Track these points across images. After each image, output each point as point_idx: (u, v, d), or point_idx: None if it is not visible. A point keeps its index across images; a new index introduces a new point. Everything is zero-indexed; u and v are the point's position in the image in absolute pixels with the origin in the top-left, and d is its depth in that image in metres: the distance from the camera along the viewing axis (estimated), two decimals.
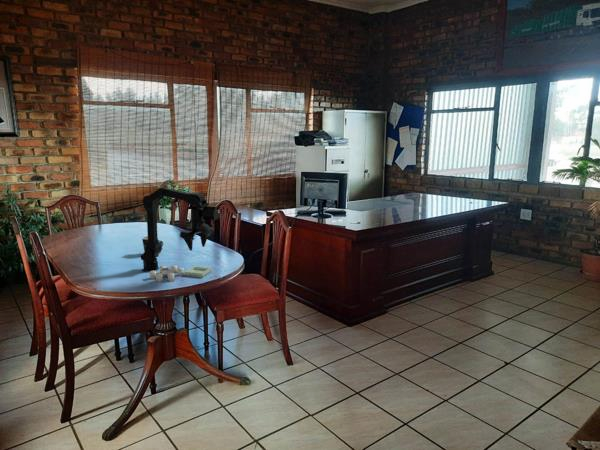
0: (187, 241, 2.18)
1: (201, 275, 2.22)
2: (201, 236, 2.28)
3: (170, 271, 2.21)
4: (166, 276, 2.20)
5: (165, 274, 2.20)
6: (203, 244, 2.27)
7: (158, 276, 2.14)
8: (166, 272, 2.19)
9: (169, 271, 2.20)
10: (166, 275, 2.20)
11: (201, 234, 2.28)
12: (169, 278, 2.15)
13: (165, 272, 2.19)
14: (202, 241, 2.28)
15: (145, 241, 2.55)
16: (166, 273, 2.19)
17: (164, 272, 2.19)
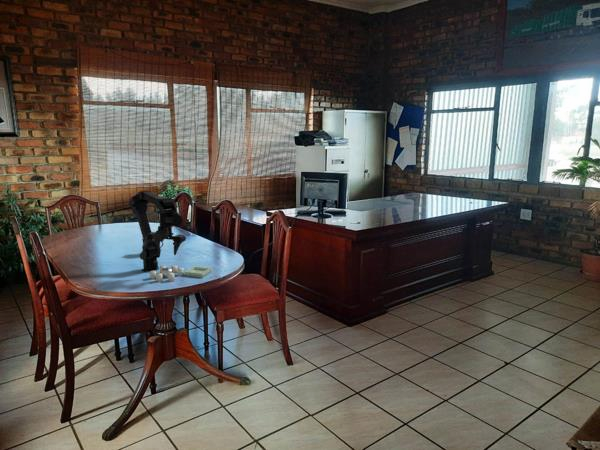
0: None
1: (201, 275, 2.22)
2: None
3: (170, 271, 2.21)
4: (166, 276, 2.20)
5: (165, 274, 2.20)
6: None
7: (158, 276, 2.14)
8: (166, 272, 2.19)
9: (169, 271, 2.20)
10: (166, 275, 2.20)
11: None
12: (169, 278, 2.15)
13: (165, 272, 2.19)
14: None
15: None
16: (166, 273, 2.20)
17: (164, 272, 2.19)
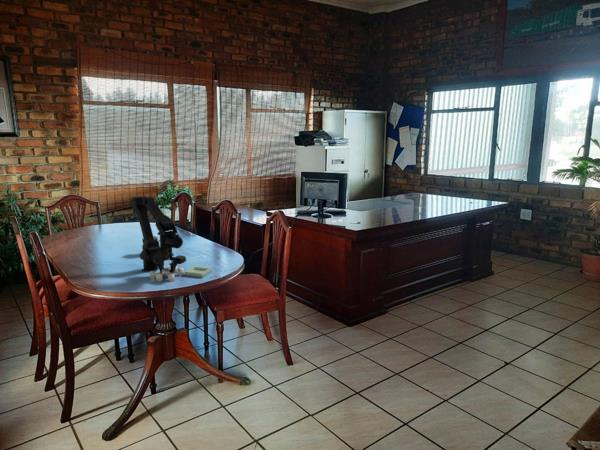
0: None
1: (201, 275, 2.22)
2: None
3: (170, 271, 2.21)
4: (166, 276, 2.20)
5: (165, 274, 2.20)
6: None
7: (158, 276, 2.14)
8: (166, 272, 2.19)
9: (169, 271, 2.20)
10: (166, 274, 2.20)
11: None
12: (169, 278, 2.15)
13: (165, 272, 2.19)
14: None
15: None
16: (166, 273, 2.19)
17: (164, 272, 2.19)
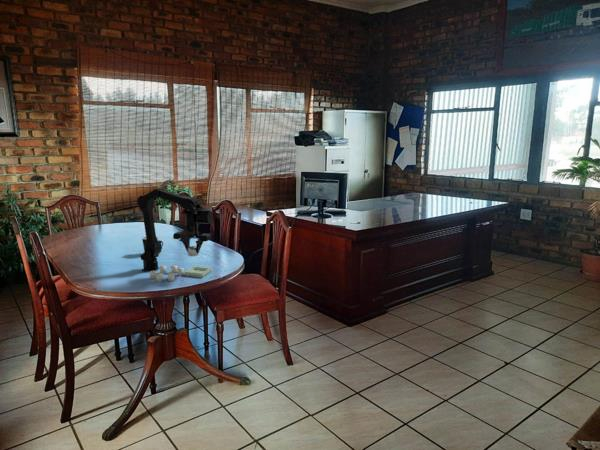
0: None
1: (201, 275, 2.22)
2: None
3: (196, 249, 2.22)
4: (192, 254, 2.22)
5: (191, 252, 2.21)
6: None
7: (158, 276, 2.14)
8: (192, 250, 2.21)
9: (195, 249, 2.22)
10: (192, 252, 2.22)
11: None
12: (169, 278, 2.15)
13: (191, 250, 2.21)
14: None
15: (145, 241, 2.55)
16: (192, 251, 2.21)
17: (190, 250, 2.21)
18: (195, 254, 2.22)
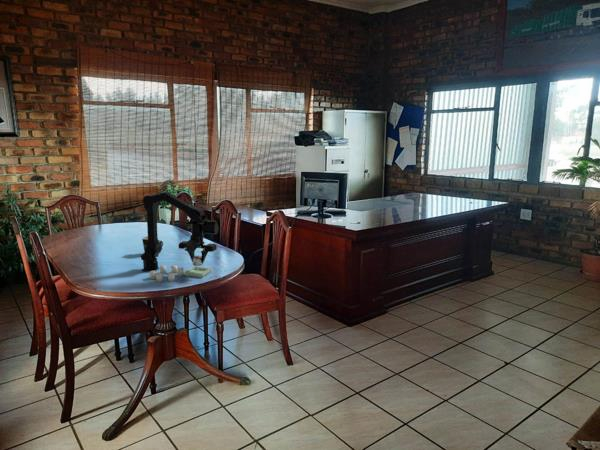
0: None
1: (201, 275, 2.22)
2: None
3: (201, 259, 2.25)
4: (197, 264, 2.24)
5: (196, 262, 2.24)
6: None
7: (158, 276, 2.14)
8: (197, 260, 2.24)
9: (200, 259, 2.24)
10: (197, 262, 2.24)
11: None
12: (169, 278, 2.15)
13: (196, 260, 2.24)
14: None
15: (145, 241, 2.55)
16: (197, 261, 2.24)
17: (195, 260, 2.24)
18: (200, 264, 2.25)
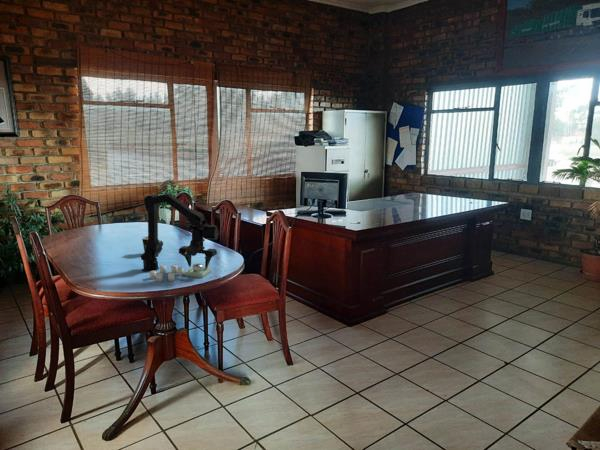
0: None
1: (201, 275, 2.22)
2: None
3: (201, 267, 2.26)
4: (197, 272, 2.25)
5: (196, 270, 2.25)
6: None
7: (158, 276, 2.14)
8: (197, 268, 2.25)
9: (200, 267, 2.25)
10: (197, 270, 2.25)
11: None
12: (169, 278, 2.15)
13: (196, 268, 2.25)
14: None
15: (145, 241, 2.55)
16: (197, 269, 2.25)
17: (195, 268, 2.25)
18: (200, 272, 2.26)
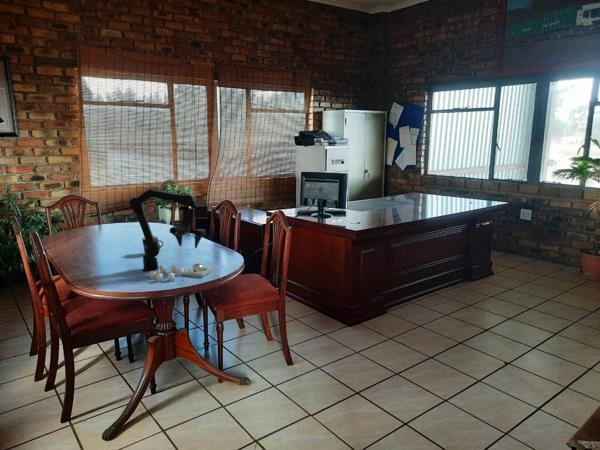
0: None
1: (201, 275, 2.22)
2: None
3: (201, 267, 2.26)
4: (197, 272, 2.25)
5: (196, 270, 2.25)
6: None
7: (158, 276, 2.14)
8: (197, 268, 2.25)
9: (200, 267, 2.25)
10: (197, 270, 2.25)
11: None
12: (169, 278, 2.15)
13: (196, 268, 2.25)
14: None
15: (145, 241, 2.55)
16: (197, 269, 2.25)
17: (195, 268, 2.25)
18: (200, 272, 2.26)
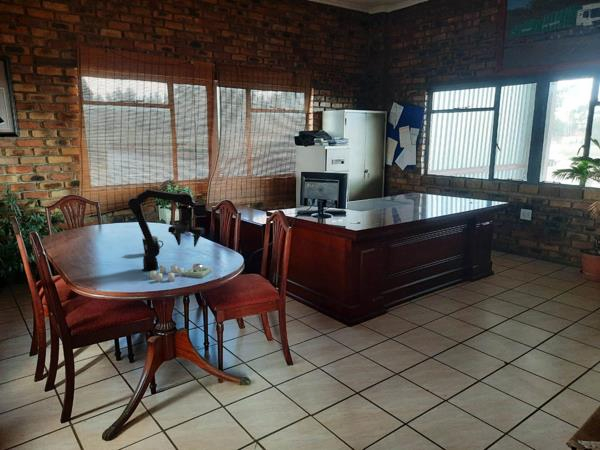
0: None
1: (201, 275, 2.22)
2: None
3: (201, 267, 2.26)
4: (197, 272, 2.25)
5: (196, 270, 2.25)
6: None
7: (158, 276, 2.14)
8: (197, 268, 2.25)
9: (200, 267, 2.25)
10: (197, 270, 2.25)
11: None
12: (169, 278, 2.15)
13: (196, 268, 2.25)
14: None
15: (145, 241, 2.55)
16: (197, 269, 2.25)
17: (195, 268, 2.25)
18: (200, 272, 2.26)
